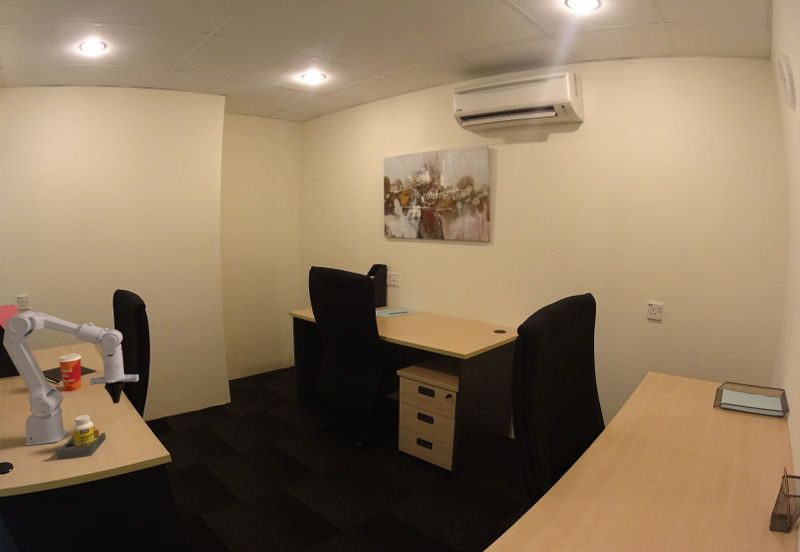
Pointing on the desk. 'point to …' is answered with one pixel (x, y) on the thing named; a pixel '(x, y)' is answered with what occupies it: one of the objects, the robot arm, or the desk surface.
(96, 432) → the block
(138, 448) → the desk surface
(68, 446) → the rail clip
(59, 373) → the hardcover book
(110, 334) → the robot arm
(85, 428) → the supplement bottle
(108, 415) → the desk surface
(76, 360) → the coffee cup
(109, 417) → the desk surface
